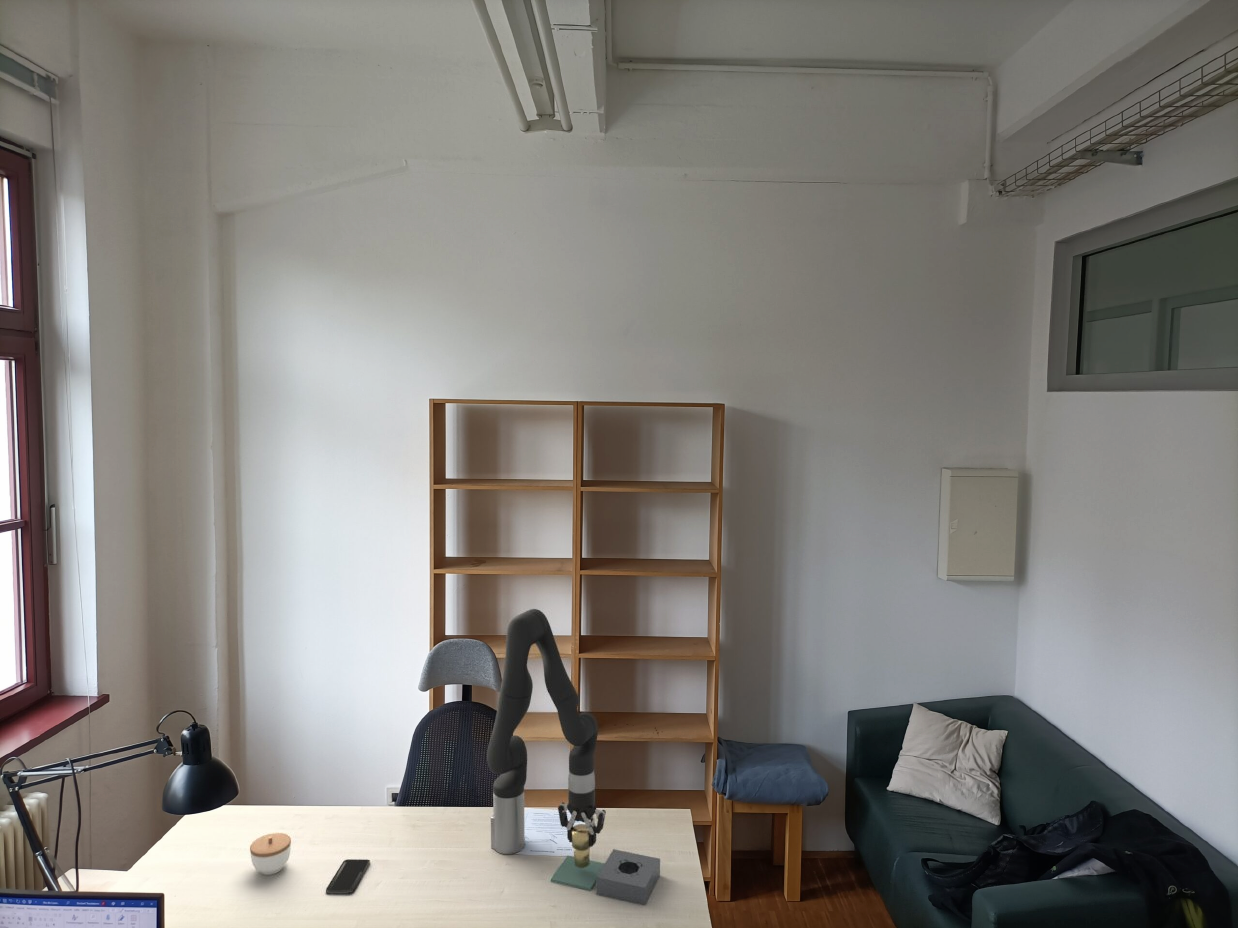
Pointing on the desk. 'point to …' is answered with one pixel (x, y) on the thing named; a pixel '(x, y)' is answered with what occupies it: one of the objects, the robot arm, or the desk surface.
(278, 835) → the lidded jar
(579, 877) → the mat
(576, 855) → the end cover
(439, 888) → the desk surface
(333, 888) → the phone
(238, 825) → the desk surface
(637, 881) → the block
